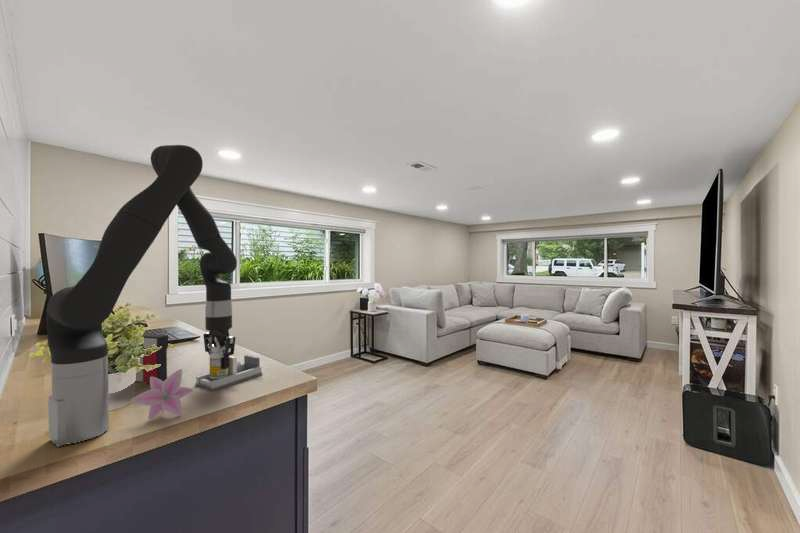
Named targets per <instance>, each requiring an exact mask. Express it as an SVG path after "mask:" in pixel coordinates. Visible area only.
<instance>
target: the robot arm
mask: <svg viewBox="0 0 800 533" xmlns="http://www.w3.org/2000/svg"><path fill="white" fill-rule="evenodd" d="M150 164H151V167H152V169H153V171H154V172H155V174H156V175H157V177H156V178H155V180H153V182H152V183H151V184H150V185H149V186H147V187H145V189H143V190H141V191H140V192H139V193H137V194H136V195H135V196H133V197H132V198H131V199H129V201H127V202H126V203H124V205H123V206H122V207H120V209H119V210H118V211H117V212H116V214H115V216H114V217H113V218H112V219H111V221H110V223H109V224H108V225H107V227H106V229H105V231H104V232H103V235H102V237H101V240H100V243H99V246H98V249H97V253H96V256H95V258H94V260H93V262H92V264H91V265H90V267H89V269H88V270H86V272H85V273H84V274H83V275H82V277H81V278H80V279H79V281H77V283H76V284H75V285H74V286H68V287H64V288H62V289H60V290H58V291H57V292H55V293H54V294H53V295H52V296H51V298H49V301H48V303H47V306H46V333H47V346H48V350H49V352H50V353H49V354H50V363H51V365H50V366H51V367H50V368H51V395H49V396H48V400H47V402H48V439H49V438H50V439H51V440H52V441H53V442H54V443H55V444H56V445H58V446H61V445H64V444H67V443H74V442H79V441H83V440H86V439H90V438H92V439H94V438H93V437H95V438H97V437H99V436H101V435H103V434H105V433H106V432H107V431H108V430H109V429H108V428H110V417H109V416H110V412H109V411H110V409H109V408H110V404H109V403H110V402H109V399H110V398H109V345H108V342H107V340H106V339H105V336H104V333H103V323H104V322H105V321H106V320H107V319H108V318H109V317H110V315H111V313H112V312H113V310H114V308H115V305H116V304H117V302H118V299H119V298H120V295H121V294H122V291H123V289H124V287H125V285H126V283H127V281H128V280H129V278H130V277H131V274H132V273H133V272H134V270H135V269H136V268H137V267H138V265H139V264H140V262H141V261H142V258H143V257H144V256H145V254H146V253H147V251H148V250H149V248H150V247H151V246H152V244H154V241H155V240H156V238H157V237H158V235H159V234H160V232H161V230H162V228H163V226H164V225H165V223H166V222H167V220H168V219H169V217H170V215H171V214H172V212H173V211H174V210H175V208H176V207H177V208H178V209H179V211H180V212H181V214H182V216H183V218H184V219H185V222H186V224H187V226H188V229H189V230H190V232H191V234H192V237H193V239H194V241H195V243H196V245H197V247H198V248H200V249H202V250H203V251H208V252H205V253H203V254H202V256H201V258H200V261H199V268H200V272H201V275H202V279H203V281H204V286H205V290H206V291H205V292H206V295H205V308H204V309H205V315H204V316H205V323H204V325H205V331H207V332H206V333H203V334H202V335H203V345H204V351H205V353H208V355H209V356H210V354H211V353H213V352H212V347H213V346H217V349H218V351H220V355H221V369H227V368H228V367H229V356H234V354H235V345H236V336H230V332H229V330H231V329H232V327H233V304H232V285H231V283H230V282H228V281H226V280H222V279H221V276H220V275H222V274H223V275H229V274H231V273H233V272H234V271H235V270H236V269H237V265H238V264H237V262H238V261H237V257H236V255H235V253H234V251H233V250H232V249H231V248H230V245H228V244H227V243H226V241H225V240H224V239H223V237H222V236H221V234H220V231H219V228H218V226H217V223H216V220H215V218H214V217H213V215H212V214H211V213H210V210H208V209H207V208H206V207H205V205H204V204H203V203H202V202H201V201H200V200H199V198H198V197H197V196H196V195H195V193H194V191H193V190H192V188H191V187H192V185H193V184H194V183H195V182H196V181H197V179H198V178H199V177H200V175H201V173H202V171H203V170H202V169H203V165H204V164H203V158H202V156H201V153H200V152H199V151H198V150H197V149H195V148H194V147H192V146H189V145H187V144H186V145H184V144H171V145H170V144H169V145H168V144H167V145H160V146H157V147H155V148H153V150H152V152H151V154H150ZM222 346H225V347H222ZM223 350H225V351H223ZM105 431H106V432H105ZM104 432H105V433H104ZM96 436H97V437H96ZM90 440H91V439H90ZM83 442H84V441H83ZM79 443H80V442H79ZM55 444H54V445H55ZM56 445H55V446H56ZM64 446H65V445H64ZM61 447H62V446H61Z"/></svg>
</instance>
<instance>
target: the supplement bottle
mask: <svg viewBox="0 0 800 533" xmlns="http://www.w3.org/2000/svg"><path fill="white" fill-rule="evenodd" d="M222 347H225V346H222ZM223 351H225V350H223ZM212 352H213V353H211V354H210V355H209V373H210V378H212V379H219V378H223V377H226V376H228V375H229V367H228V368H227V369H221V355H220V351H218V349H217V346H213V347H212Z"/></svg>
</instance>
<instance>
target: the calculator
mask: <svg viewBox="0 0 800 533" xmlns="http://www.w3.org/2000/svg"><path fill="white" fill-rule="evenodd" d="M153 344H155V345H157V346H158V347H160V346H162V348H161V349H160V350H158V351H156V352H154V353H152V354H151V355H149V356H144V357H142V358H140V364H142V365H155V364H161V366H160V367H158V368H155V369H153V370H150V371H148V372H147V371H146V370H145V369H141V370H140V371H139V372H137V373H136V382H137V383H143V382H146V383H145V384H150V377H155V378H158V379H160V380H162V381H165V380H166V379H167V378H168V367H167V365H168V358H167V355H168V354H167V353H168V348H169V335H168V334H157V333H144V343H143V347H144V348H148V347H151V346H152V345H153Z"/></svg>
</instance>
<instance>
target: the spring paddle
mask: <svg viewBox="0 0 800 533" xmlns="http://www.w3.org/2000/svg"><path fill="white" fill-rule="evenodd" d="M241 364H242V362H241V361H237V356H234V355H230V356H229V375H228V376H230V375H233V374H236V373H237V369H239V368H241ZM226 377H227V376H226Z"/></svg>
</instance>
